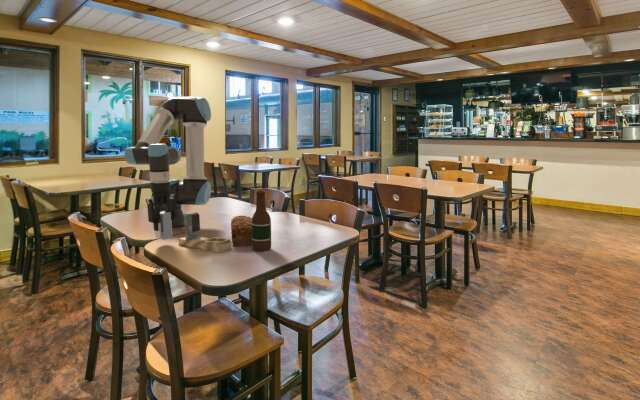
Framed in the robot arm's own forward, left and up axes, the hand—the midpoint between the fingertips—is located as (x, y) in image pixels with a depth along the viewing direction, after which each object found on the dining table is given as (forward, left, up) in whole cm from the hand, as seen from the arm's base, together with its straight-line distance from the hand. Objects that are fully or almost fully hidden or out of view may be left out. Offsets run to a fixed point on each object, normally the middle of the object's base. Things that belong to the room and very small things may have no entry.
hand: (164, 236), depth 169 cm
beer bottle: (+39, +16, -4) cm, 43 cm away
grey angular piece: (+16, +7, -4) cm, 18 cm away
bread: (+24, +23, -4) cm, 33 cm away
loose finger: (0, 0, -1) cm, 1 cm away
